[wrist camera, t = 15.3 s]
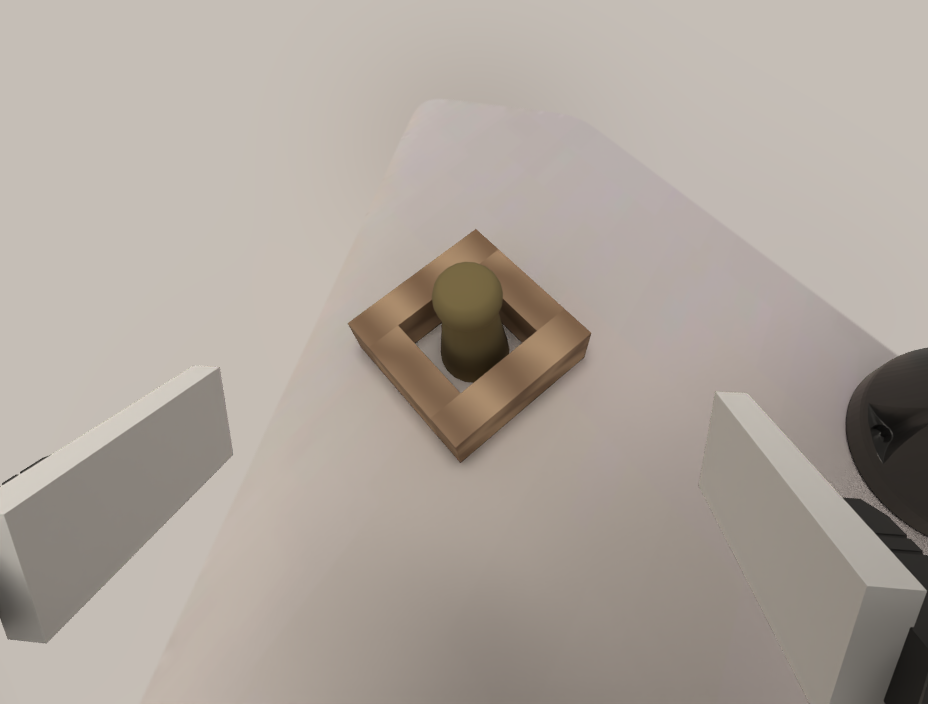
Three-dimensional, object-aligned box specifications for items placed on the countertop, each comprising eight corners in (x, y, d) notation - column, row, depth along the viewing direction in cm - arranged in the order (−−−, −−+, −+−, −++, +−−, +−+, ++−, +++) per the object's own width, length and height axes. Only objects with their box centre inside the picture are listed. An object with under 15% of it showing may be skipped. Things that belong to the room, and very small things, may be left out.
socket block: (478, 258, 53) (475, 229, 49) (584, 356, 47) (591, 333, 43) (361, 347, 49) (347, 323, 45) (460, 462, 44) (455, 447, 40)
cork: (440, 384, 47) (421, 323, 37) (441, 322, 50) (423, 250, 40) (510, 381, 47) (510, 319, 37) (507, 319, 50) (506, 245, 40)
